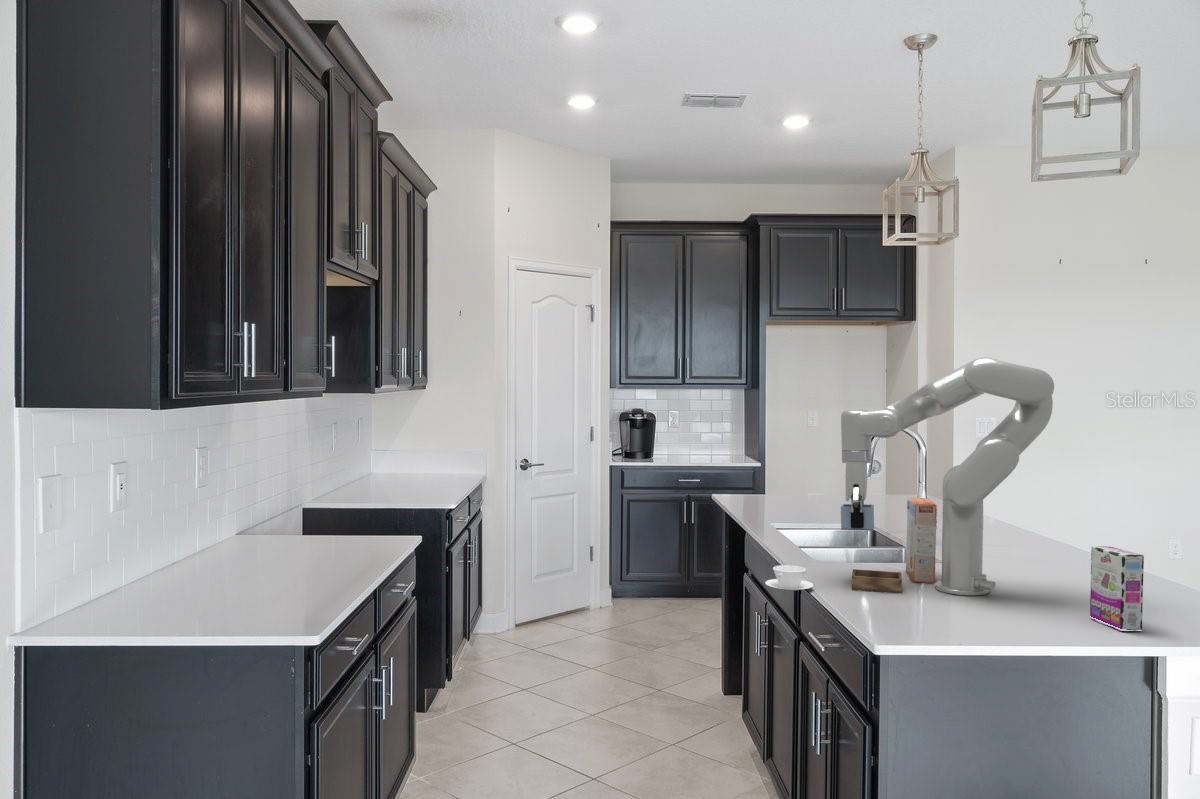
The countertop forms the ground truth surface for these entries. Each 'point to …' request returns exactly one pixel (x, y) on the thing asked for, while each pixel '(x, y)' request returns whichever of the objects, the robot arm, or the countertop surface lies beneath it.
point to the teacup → (789, 578)
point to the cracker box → (921, 540)
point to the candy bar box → (1117, 587)
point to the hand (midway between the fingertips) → (858, 525)
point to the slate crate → (868, 517)
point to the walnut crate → (877, 581)
